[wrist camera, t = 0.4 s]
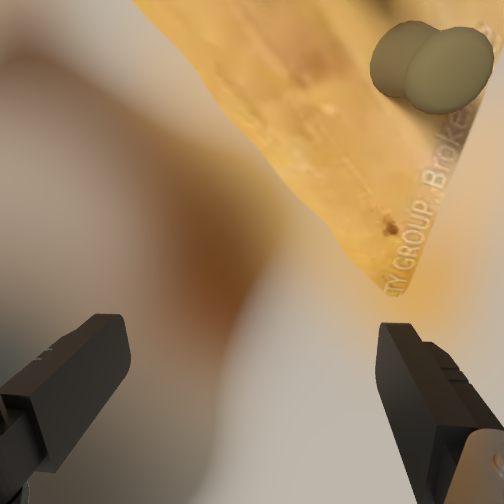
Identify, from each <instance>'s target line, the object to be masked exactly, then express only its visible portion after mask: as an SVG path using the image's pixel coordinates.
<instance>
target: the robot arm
mask: <svg viewBox="0 0 504 504" xmlns="http://www.w3.org/2000/svg"><path fill="white" fill-rule="evenodd" d="M130 362H131V354H130V349H129V343H128V338H127V333H126V328H125V322H124V319H123V317H122V316H121V315H119V314H94V315H93V316H92V317H90V318H89V319H88V320H87V321H86V322H85V323H83V324H82V325H81V326H80V327H79V328H77V329H76V330H74V331H72V332H70V333H69V334H67V335H65V336H63V337H61V338H60V339H59V340H57V341H56V342H55V343H54V344H52V345H51V346H50V347H49V348H48V350H47V351H44V352H43V353H42V354H40V355H39V356H38V357H37V358H36V360H33V361H32V362H31V363H29V364H28V365H27V366H26V367H25V368H23V369H22V370H21V371H20V372H19V373H17V374H16V375H15V376H14V377H13V378H11V379H10V380H9V381H8V382H6V383H5V384H4V385H3V386H1V387H0V504H28V500H29V486H28V483H27V480H28V478H29V477H30V476H31V474H32V473H33V472H34V471H39V472H48V473H55V472H56V471H57V470H58V468H59V467H60V466H61V464H62V463H63V461H64V460H65V459H66V457H67V456H68V455H69V453H70V452H71V450H72V449H73V448H74V446H75V445H76V444H77V442H78V441H79V439H80V438H81V437H82V435H83V434H84V433H85V431H86V430H87V428H88V427H89V426H90V424H91V423H92V422H93V420H94V419H95V417H96V416H97V415H98V413H99V412H100V411H101V409H102V408H103V407H104V405H105V404H106V402H107V401H108V400H109V398H110V397H111V395H112V394H113V393H114V391H115V390H116V389H117V387H118V386H119V385H120V383H121V382H122V380H123V379H124V378H125V376H126V375H127V373H128V371H129V368H130ZM375 375H376V383H377V389H378V392H379V395H380V397H381V400H382V403H383V406H384V409H385V412H386V415H387V418H388V420H389V423H390V426H391V429H392V432H393V435H394V438H395V440H396V444H397V446H398V449H399V452H400V455H401V458H402V461H403V464H404V466H405V469H406V472H407V475H408V478H409V481H410V484H411V487H412V490H413V492H414V495H415V498H416V501H417V504H504V427H503V426H502V425H501V423H500V422H499V421H498V419H497V418H496V417H495V415H494V414H493V413H492V411H491V410H490V409H489V407H488V406H487V405H486V403H485V402H484V401H483V399H482V398H481V397H480V395H479V394H478V392H477V391H476V390H475V389H474V387H473V386H472V384H469V382H468V379H467V378H466V376H465V375H464V374H463V372H462V371H460V370H459V367H458V366H457V365H456V363H455V362H454V361H453V359H452V358H451V357H450V355H449V354H448V353H446V352H445V351H444V350H442V349H441V348H440V347H438V346H437V345H435V344H434V343H432V342H422V340H421V339H420V337H419V336H418V334H417V332H416V331H415V329H414V328H413V326H412V325H411V324H409V323H381V325H380V328H379V337H378V346H377V356H376V366H375Z"/></svg>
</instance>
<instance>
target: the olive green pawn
mask: <svg viewBox="0 0 504 504" xmlns="http://www.w3.org/2000/svg"><path fill="white" fill-rule="evenodd" d="M493 63H494V54H493V48H492V45H491V43H490V42H489V40H488V39H487V37H486V36H485V35H484V34H482V33H481V32H479V31H477V30H475V29H474V28H467V27H454V28H450V29H446V30H442V31H440V30H438V29H436V28H434V27H432V26H430V25H428V24H426V23H424V22H419V21H408V22H405V23H401V24H399V25H397V26H395V27H394V28H392V29H391V30H389V31H388V32H387V33H386V34H385V35H384V36H383V37H382V39H381V40H380V41H379V43H378V44H377V46H376V48H375V50H374V52H373V55H372V59H371V63H370V75H371V78H372V81H373V84H374V86H375V87H376V88H377V89H378V90H379V91H380V92H381V93H383V94H385V95H387V96H390V97H398V98H406V99H409V101H410V102H411V103H412V104H413V105H414V107H415V108H417V109H419V110H421V111H423V112H424V113H426V114H435V115H442V114H447V113H452V112H455V111H457V110H459V109H461V108H463V107H465V106H466V105H468V104H469V103H470V102H471V101H472V100H474V99H475V98H476V97H477V96H478V95H479V93H480V92H481V91H482V89H483V88H484V87H485V86H486V84H487V82H488V79H489V77H490V75H491V73H492V69H493Z"/></svg>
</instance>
